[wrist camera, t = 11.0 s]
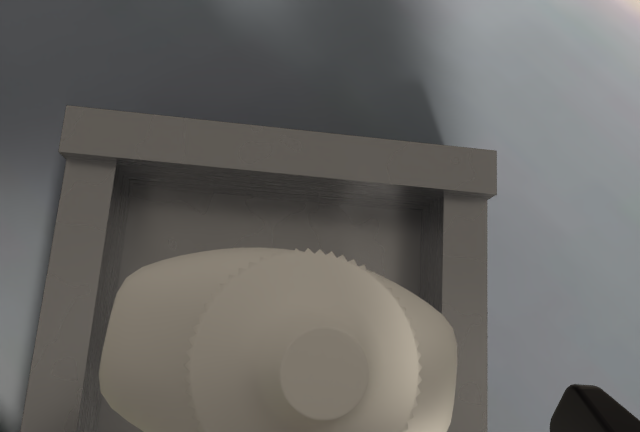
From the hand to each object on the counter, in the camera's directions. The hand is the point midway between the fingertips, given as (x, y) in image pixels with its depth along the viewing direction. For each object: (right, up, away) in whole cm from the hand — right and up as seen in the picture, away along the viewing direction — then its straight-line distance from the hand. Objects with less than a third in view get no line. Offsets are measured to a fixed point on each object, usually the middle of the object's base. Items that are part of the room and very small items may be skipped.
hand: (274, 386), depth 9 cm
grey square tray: (-1, -1, +8) cm, 8 cm away
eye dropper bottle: (-1, -1, +8) cm, 8 cm away
